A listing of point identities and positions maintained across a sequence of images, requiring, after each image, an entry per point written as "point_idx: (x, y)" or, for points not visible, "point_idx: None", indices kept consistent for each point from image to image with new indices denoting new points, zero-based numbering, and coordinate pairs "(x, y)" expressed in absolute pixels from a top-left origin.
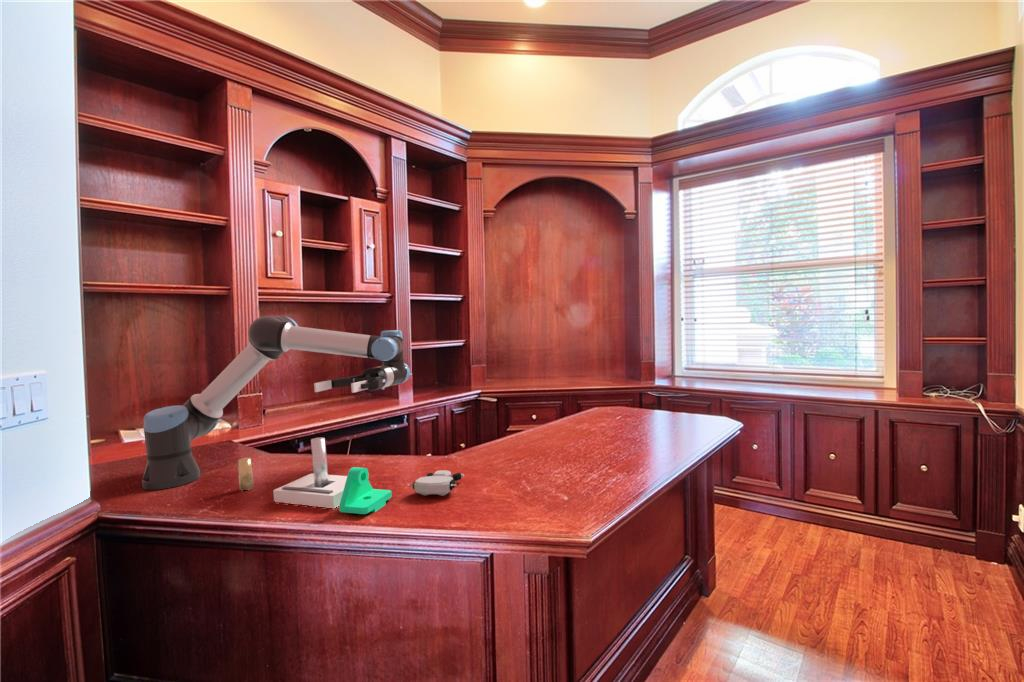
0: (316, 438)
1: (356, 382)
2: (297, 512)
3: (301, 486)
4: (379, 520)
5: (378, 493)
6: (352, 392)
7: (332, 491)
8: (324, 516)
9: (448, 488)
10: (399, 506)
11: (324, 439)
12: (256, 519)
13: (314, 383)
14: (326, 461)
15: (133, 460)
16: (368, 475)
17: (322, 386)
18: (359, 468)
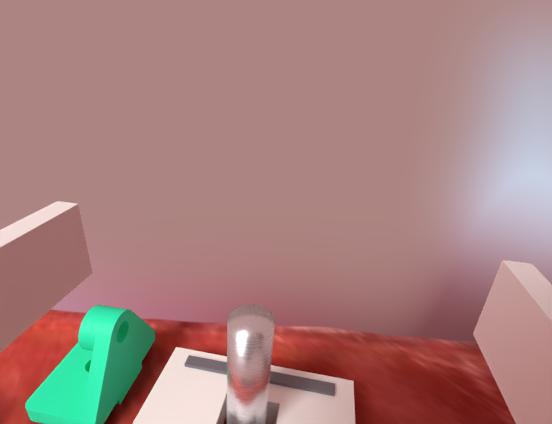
0: (261, 325)
1: (16, 232)
2: None
3: (294, 404)
4: (73, 327)
5: (65, 388)
6: (84, 270)
7: (185, 363)
8: (187, 341)
9: None
10: (19, 382)
11: (227, 323)
12: (314, 333)
13: (525, 265)
14: (227, 383)
15: None
16: (80, 344)
17: (533, 375)
18: (99, 309)
